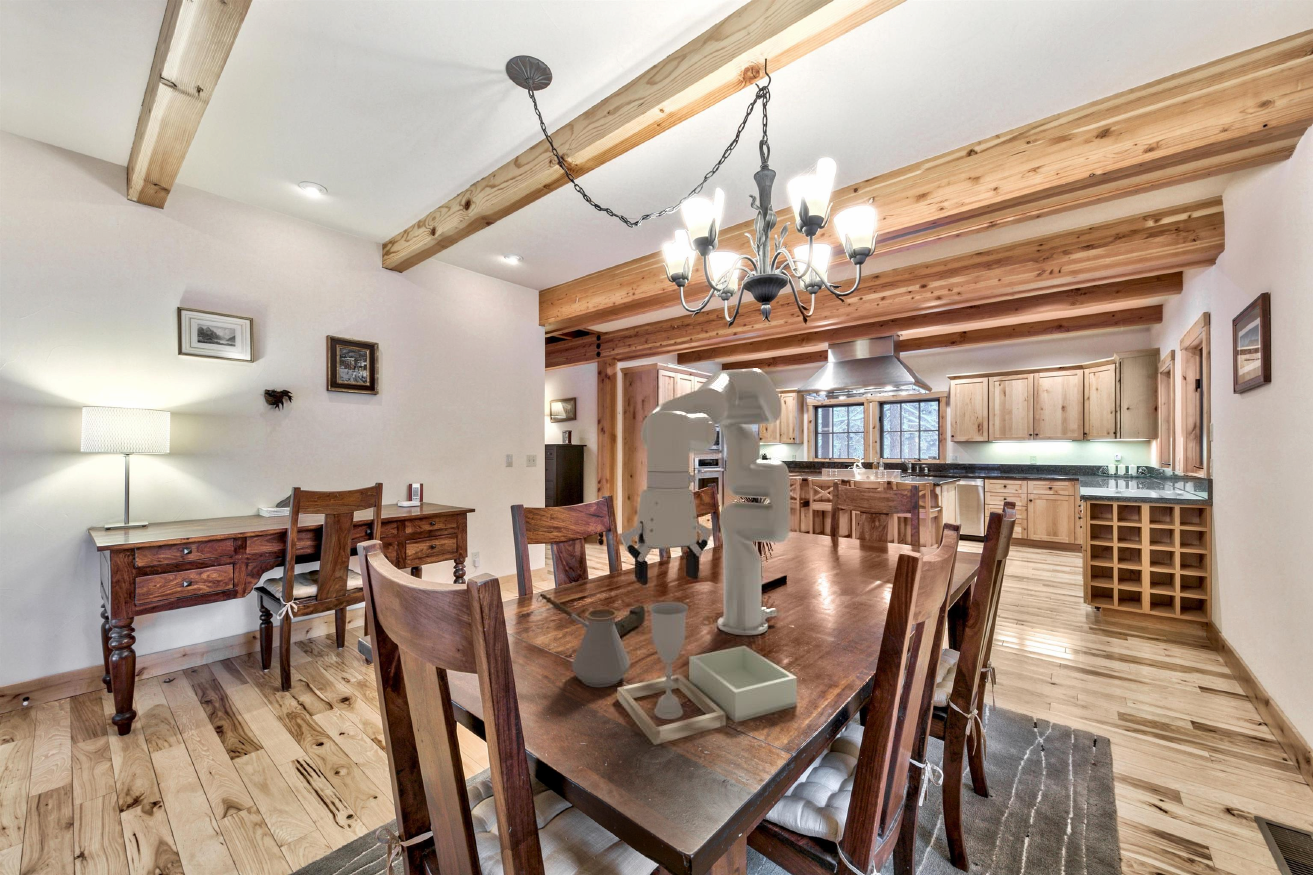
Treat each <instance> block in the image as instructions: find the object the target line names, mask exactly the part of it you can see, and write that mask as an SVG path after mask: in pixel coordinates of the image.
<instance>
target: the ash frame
mask: <svg viewBox="0 0 1313 875" xmlns="http://www.w3.org/2000/svg"><path fill="white" fill-rule="evenodd" d="M671 679H672V682H673V683H674V684H673V685H672V688H671V690H675V689H679V690H680V691H681V692H682V693H683V694H684V695H685V696H686V697H687V698H688V699H689V700H691V702H693V703H694V704H695V705H696V706H698V708H699V709H701V710H702V712H703V713H705V714H703V715H700V716H696V717H692V718H688V719H685V720H680V721H676V722H672V723H669V724H664V725H661V726H657V725H656V723H654V722H653V720H652V719H651V718H650V717H649V716H648V715H647V713H646V712H645V711H644V710H643V709H642V708H641V706H640V705H639V704H638V703H637V702H636V701H635V700H634V699H636V698H640V697H645V696H648V695H653V694H656V693H657V694H658V693H662V692H666V686H665V685H664V682H665V681H666V676H665V677H662V678H656V679H652V680H648V681H643V682H638V683H634V684H627V685H625V686H620V687H617V694H616V697H617V698H616V700H618V702H619V703H620V704H621V705H622V706H623V708H624V709H625V710H626V712H627V713H628V714H629V715H630V717H631V718H632V719H633V721H634V722H635V723H636V724H637V726H638V727H639V728H640V729H641V730H642V732H643V733H644V734H645V736H647V738H648V739H649V741H650V742H651V743H652V744H653V746H657V745H660V744H663V743H666V742H671V741H674V740H677V739H681V738H685V737H689V736H692V735H695V734H700V733H703V732H706V731H710V730H714V729H718V728H721V727H722V728H723V727H725V726H726V714H725V712H723V711H722V710H721V709H720V708H719V707H718V706H716V705H715V704H714V703H713V702H712V701H711V700H710V699H708V698H707V697H706V696H705V695H704V694H703V693H701V692H700V691H699V690H698V689H697V688H696V687H694V686H693V685H692V684H691V683H690V682H689V680H688V679H687V678H685V677H684V676H683V675H682V674H680V673H678V674H676V675H672V676H671Z"/></svg>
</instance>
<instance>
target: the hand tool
mask: <svg viewBox="0 0 1313 875" xmlns="http://www.w3.org/2000/svg"><path fill="white" fill-rule="evenodd" d="M645 620H646V610H645V606H644V605H642V604H641V605H637V606H635V607H632V608H630V609H629V613H628V614H627V615H625V616H623V617H621V618H620V619H618V620H617V621H614V625H615V627H616V629H617V632H618V634H619V637H620V638H621V636H622V635H624V634H625V635H626V634H627V633H628V632H629V631H630V630H632V629H634V628H639V627H641V626H642V625H643V623H644V622H645Z"/></svg>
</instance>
